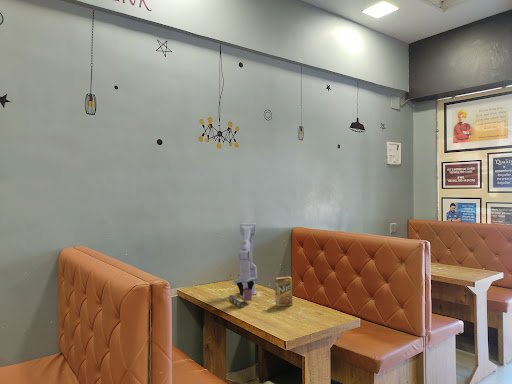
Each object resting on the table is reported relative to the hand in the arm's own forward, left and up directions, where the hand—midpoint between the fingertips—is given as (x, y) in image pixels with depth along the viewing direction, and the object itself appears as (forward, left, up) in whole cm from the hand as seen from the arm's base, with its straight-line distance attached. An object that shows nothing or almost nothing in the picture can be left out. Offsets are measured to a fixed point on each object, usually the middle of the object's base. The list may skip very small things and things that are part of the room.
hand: (245, 295), depth 206 cm
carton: (0, 0, -2) cm, 2 cm away
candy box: (+14, +17, -5) cm, 23 cm away
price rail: (-1, -5, -4) cm, 7 cm away
